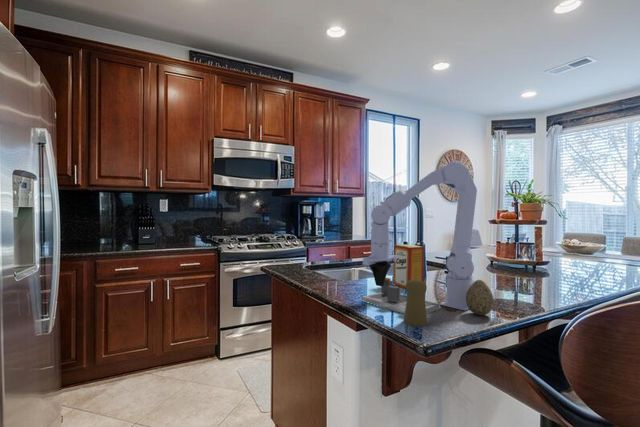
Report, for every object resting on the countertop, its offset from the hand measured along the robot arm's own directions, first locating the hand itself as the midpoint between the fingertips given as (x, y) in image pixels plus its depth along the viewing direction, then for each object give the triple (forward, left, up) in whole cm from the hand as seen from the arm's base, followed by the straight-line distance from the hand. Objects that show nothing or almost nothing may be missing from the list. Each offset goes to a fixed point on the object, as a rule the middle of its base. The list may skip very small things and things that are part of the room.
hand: (379, 285), depth 108 cm
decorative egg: (-11, +27, -5) cm, 30 cm away
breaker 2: (+2, +7, -3) cm, 8 cm away
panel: (-1, +7, -5) cm, 9 cm away
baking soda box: (-25, -6, -5) cm, 26 cm away
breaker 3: (-4, 0, -3) cm, 5 cm away
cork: (+9, +19, -5) cm, 22 cm away
